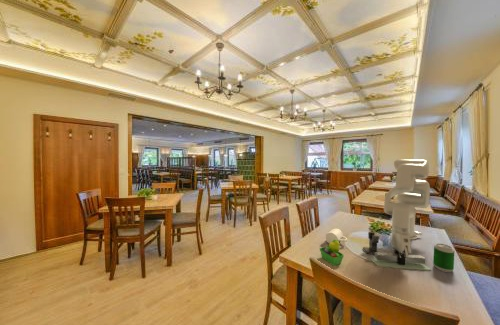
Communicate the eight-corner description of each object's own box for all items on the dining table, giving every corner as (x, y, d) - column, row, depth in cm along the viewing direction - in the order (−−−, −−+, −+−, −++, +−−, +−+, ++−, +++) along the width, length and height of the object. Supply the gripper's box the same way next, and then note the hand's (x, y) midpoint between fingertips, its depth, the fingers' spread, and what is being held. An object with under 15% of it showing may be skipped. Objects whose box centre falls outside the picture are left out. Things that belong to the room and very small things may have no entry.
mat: (420, 262, 108) (420, 261, 108) (431, 270, 100) (431, 269, 100) (370, 258, 112) (370, 257, 112) (377, 266, 104) (377, 265, 104)
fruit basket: (318, 256, 114) (318, 237, 113) (330, 254, 117) (331, 235, 116) (333, 267, 103) (333, 246, 102) (346, 264, 106) (346, 243, 105)
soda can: (455, 274, 97) (457, 251, 96) (435, 270, 101) (436, 247, 100) (450, 267, 103) (451, 245, 103) (431, 263, 107) (432, 241, 107)
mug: (325, 242, 131) (325, 231, 131) (331, 238, 139) (331, 227, 138) (344, 248, 123) (344, 236, 123) (349, 243, 131) (349, 231, 130)
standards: (407, 252, 119) (407, 234, 119) (414, 257, 113) (415, 238, 112) (362, 248, 123) (363, 231, 123) (367, 253, 117) (367, 235, 116)
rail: (421, 260, 106) (421, 255, 106) (425, 263, 103) (425, 258, 103) (374, 257, 110) (375, 251, 109) (377, 260, 107) (377, 254, 106)
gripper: (418, 236, 97) (417, 272, 98) (399, 224, 113) (398, 255, 114) (402, 235, 98) (400, 271, 99) (384, 223, 114) (383, 254, 115)
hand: (399, 262), depth 106 cm, fingers closed on rail, 3 cm apart
